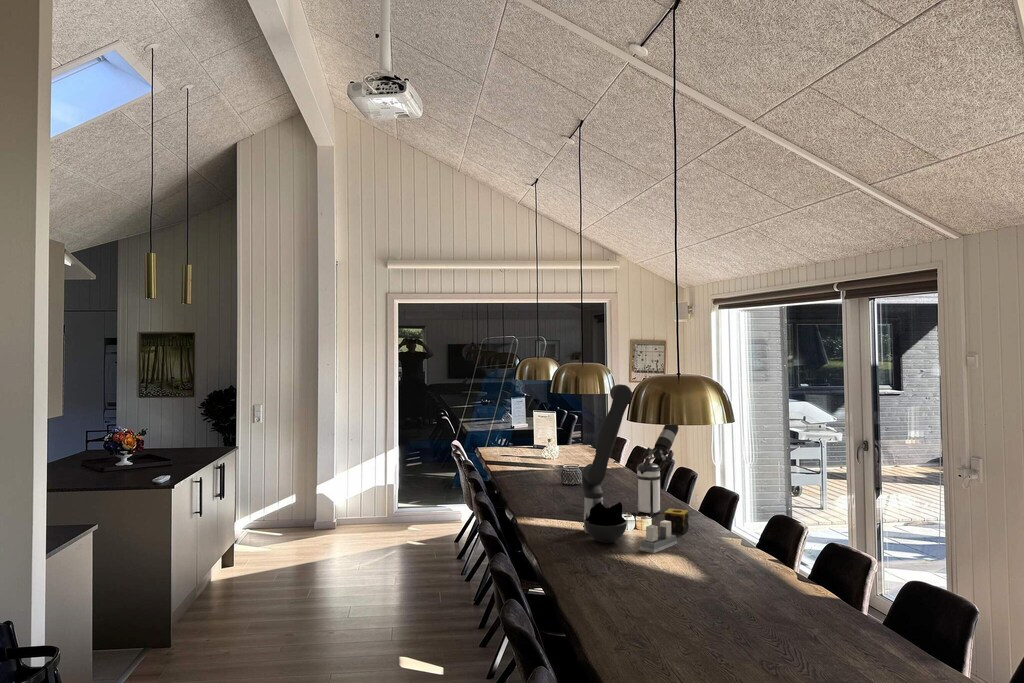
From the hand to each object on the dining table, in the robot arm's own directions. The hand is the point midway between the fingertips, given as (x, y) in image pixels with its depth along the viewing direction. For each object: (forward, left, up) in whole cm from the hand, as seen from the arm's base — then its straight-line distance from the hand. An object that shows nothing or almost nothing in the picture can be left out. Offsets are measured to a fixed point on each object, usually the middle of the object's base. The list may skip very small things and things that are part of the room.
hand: (652, 467), depth 332 cm
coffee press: (+9, +49, -34) cm, 60 cm away
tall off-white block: (+3, -12, -32) cm, 34 cm away
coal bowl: (-24, -7, -34) cm, 42 cm away
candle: (+14, +11, -34) cm, 38 cm away
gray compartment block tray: (-1, -16, -34) cm, 37 cm away
